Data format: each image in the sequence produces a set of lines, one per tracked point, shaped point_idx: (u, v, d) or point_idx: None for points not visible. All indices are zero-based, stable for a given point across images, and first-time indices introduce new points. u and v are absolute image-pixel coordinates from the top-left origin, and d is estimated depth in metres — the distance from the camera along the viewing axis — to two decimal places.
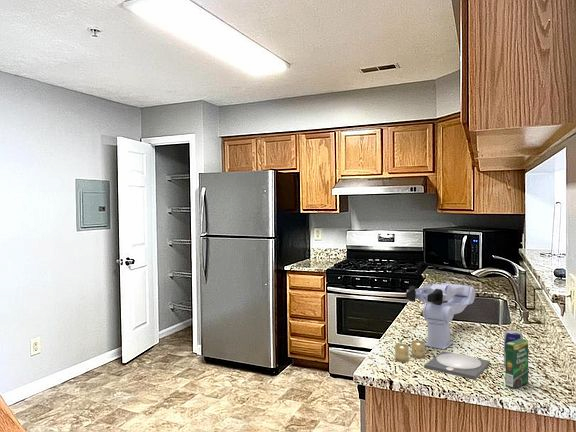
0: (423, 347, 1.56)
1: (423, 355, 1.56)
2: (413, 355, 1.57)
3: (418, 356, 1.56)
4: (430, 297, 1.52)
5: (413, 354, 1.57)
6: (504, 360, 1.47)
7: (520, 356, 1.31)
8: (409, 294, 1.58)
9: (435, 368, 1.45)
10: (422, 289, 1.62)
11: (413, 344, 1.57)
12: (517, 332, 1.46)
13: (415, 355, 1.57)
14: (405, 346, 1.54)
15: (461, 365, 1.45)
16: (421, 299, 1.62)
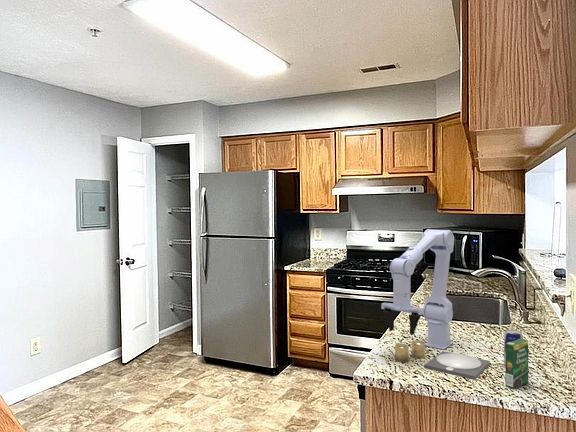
0: (423, 347, 1.56)
1: (423, 355, 1.56)
2: (413, 355, 1.57)
3: (418, 356, 1.56)
4: (413, 332, 1.51)
5: (413, 354, 1.57)
6: (504, 360, 1.47)
7: (520, 356, 1.31)
8: (391, 327, 1.56)
9: (435, 368, 1.45)
10: None
11: (413, 344, 1.57)
12: (517, 332, 1.46)
13: (415, 355, 1.57)
14: (405, 346, 1.54)
15: (461, 365, 1.45)
16: None
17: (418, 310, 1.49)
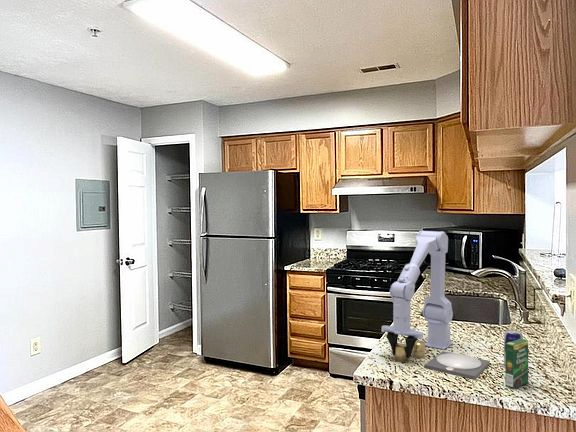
0: (423, 347, 1.56)
1: (423, 355, 1.56)
2: (413, 355, 1.57)
3: (418, 356, 1.56)
4: (409, 355, 1.52)
5: (413, 354, 1.57)
6: (504, 360, 1.47)
7: (520, 356, 1.31)
8: None
9: (435, 368, 1.45)
10: None
11: None
12: (517, 332, 1.46)
13: (415, 355, 1.57)
14: (405, 346, 1.54)
15: (461, 365, 1.45)
16: None
17: (418, 334, 1.50)
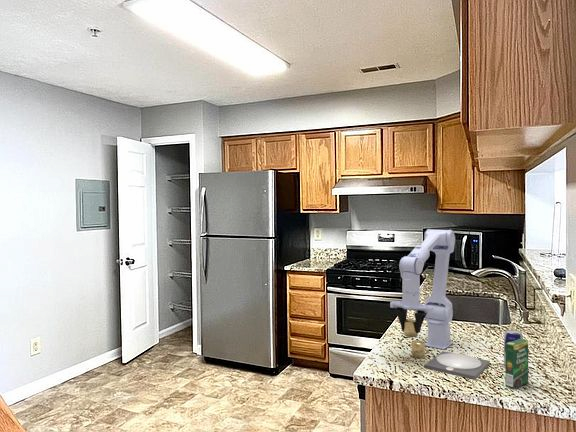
0: (423, 347, 1.56)
1: (423, 355, 1.56)
2: (413, 355, 1.57)
3: (418, 356, 1.56)
4: (418, 330, 1.51)
5: (413, 354, 1.57)
6: (504, 360, 1.47)
7: (520, 356, 1.31)
8: None
9: (435, 368, 1.45)
10: None
11: (413, 344, 1.57)
12: (517, 332, 1.46)
13: (415, 355, 1.57)
14: (414, 321, 1.52)
15: (461, 365, 1.45)
16: None
17: (428, 309, 1.48)
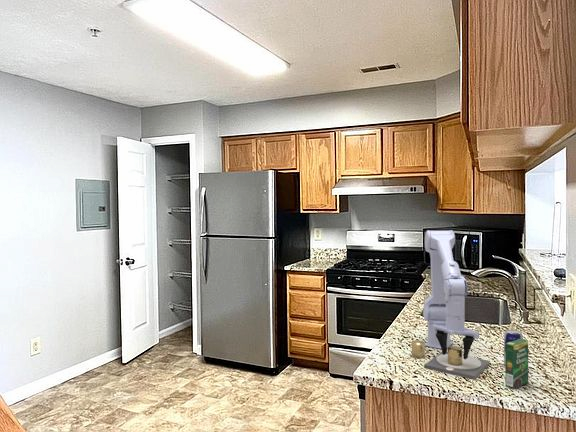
0: (423, 347, 1.56)
1: (423, 355, 1.56)
2: (413, 355, 1.57)
3: (418, 356, 1.56)
4: (466, 356, 1.44)
5: (413, 354, 1.57)
6: (504, 360, 1.47)
7: (520, 356, 1.31)
8: (445, 350, 1.48)
9: (435, 368, 1.45)
10: None
11: (413, 344, 1.57)
12: (517, 332, 1.46)
13: (415, 355, 1.57)
14: (459, 349, 1.46)
15: (461, 365, 1.45)
16: None
17: (474, 334, 1.42)
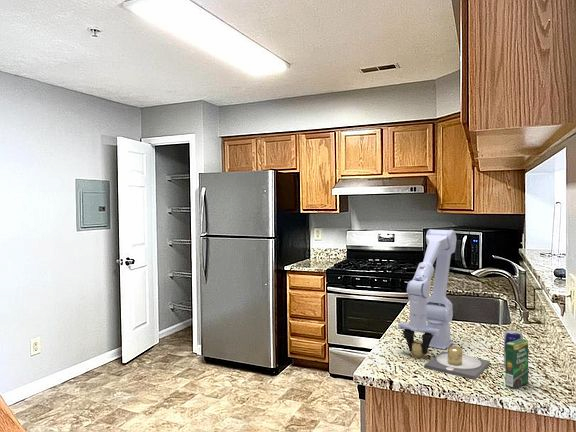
0: None
1: (423, 355, 1.56)
2: (413, 355, 1.57)
3: (418, 356, 1.56)
4: (426, 352, 1.56)
5: (413, 354, 1.57)
6: (504, 360, 1.47)
7: (520, 356, 1.31)
8: (411, 347, 1.59)
9: (435, 368, 1.45)
10: None
11: (413, 344, 1.57)
12: (517, 332, 1.46)
13: (415, 355, 1.56)
14: (459, 349, 1.46)
15: (461, 365, 1.45)
16: None
17: (434, 331, 1.53)
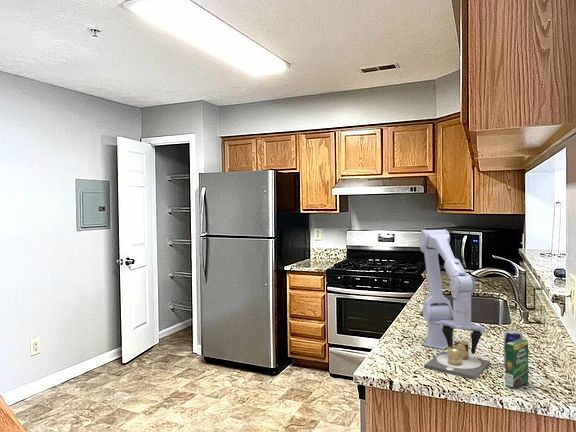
0: (468, 348, 1.50)
1: (467, 356, 1.50)
2: None
3: (462, 357, 1.50)
4: (474, 351, 1.49)
5: None
6: (504, 360, 1.47)
7: (520, 356, 1.31)
8: (451, 345, 1.54)
9: (435, 368, 1.45)
10: None
11: (457, 345, 1.51)
12: (517, 332, 1.46)
13: None
14: (459, 349, 1.46)
15: (461, 365, 1.45)
16: None
17: (480, 329, 1.47)
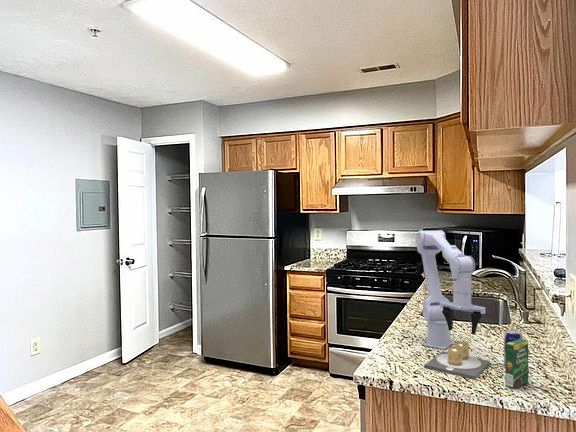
0: (468, 348, 1.50)
1: (467, 356, 1.50)
2: None
3: (462, 357, 1.50)
4: (474, 331, 1.49)
5: None
6: (504, 360, 1.47)
7: (520, 356, 1.31)
8: (451, 326, 1.54)
9: (435, 368, 1.45)
10: None
11: (457, 345, 1.51)
12: (517, 332, 1.46)
13: None
14: (459, 349, 1.46)
15: (461, 365, 1.45)
16: None
17: (481, 309, 1.47)
